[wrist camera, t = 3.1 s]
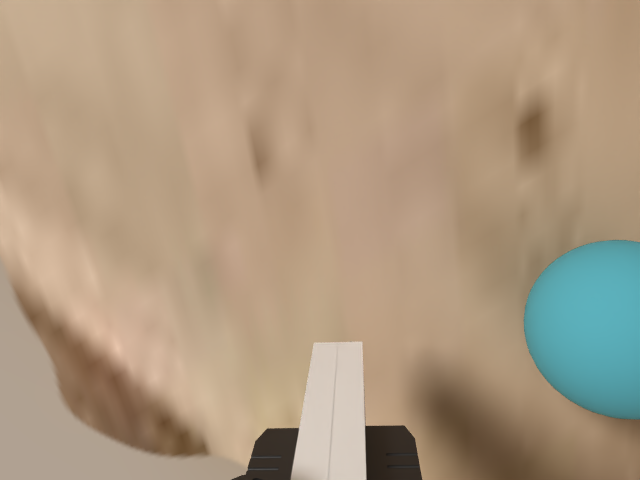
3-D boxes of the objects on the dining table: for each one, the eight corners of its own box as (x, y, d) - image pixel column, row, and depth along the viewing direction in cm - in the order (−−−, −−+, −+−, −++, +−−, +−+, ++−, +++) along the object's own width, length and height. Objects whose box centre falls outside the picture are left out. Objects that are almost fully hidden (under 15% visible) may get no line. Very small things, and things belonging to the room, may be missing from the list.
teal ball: (477, 272, 21) (523, 341, 15) (619, 192, 20) (730, 233, 14) (546, 386, 22) (615, 490, 16) (685, 317, 21) (812, 403, 15)
